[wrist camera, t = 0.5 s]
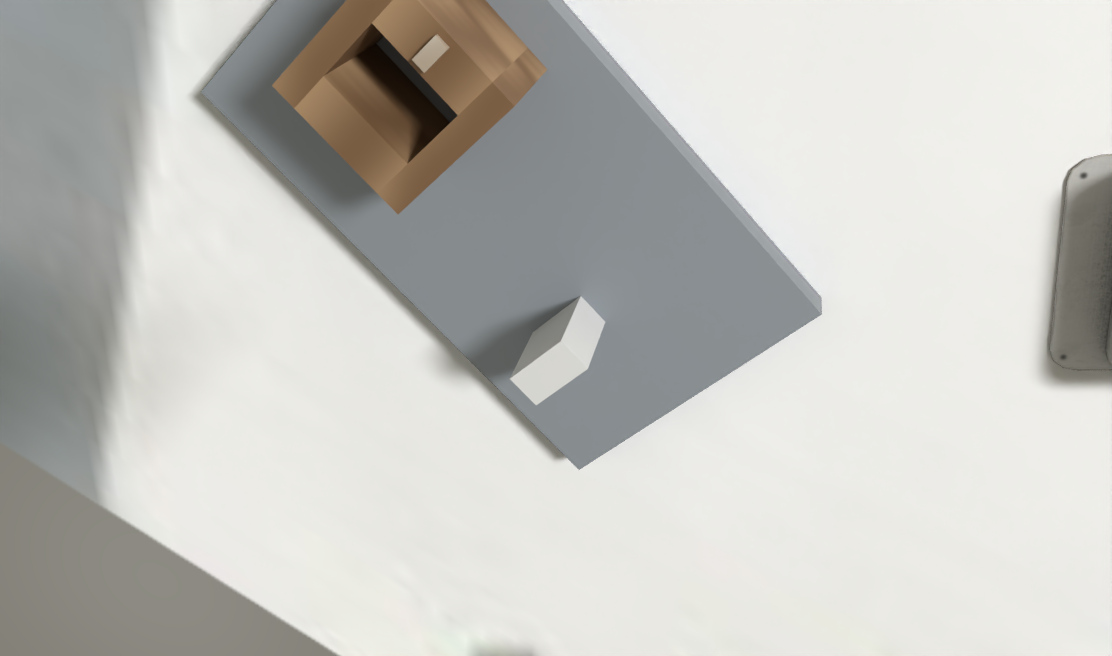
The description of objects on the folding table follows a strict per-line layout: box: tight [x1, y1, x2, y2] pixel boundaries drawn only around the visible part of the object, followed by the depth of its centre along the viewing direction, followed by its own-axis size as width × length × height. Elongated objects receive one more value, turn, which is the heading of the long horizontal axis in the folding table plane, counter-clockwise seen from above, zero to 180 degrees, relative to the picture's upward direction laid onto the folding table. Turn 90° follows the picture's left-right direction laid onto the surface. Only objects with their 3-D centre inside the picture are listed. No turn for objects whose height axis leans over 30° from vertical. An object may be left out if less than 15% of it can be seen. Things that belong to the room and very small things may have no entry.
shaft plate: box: [201, 0, 822, 470], centre depth 40 cm, size 24×14×6 cm, turn 44°
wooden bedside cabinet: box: [272, 0, 547, 214], centre depth 37 cm, size 6×6×5 cm
